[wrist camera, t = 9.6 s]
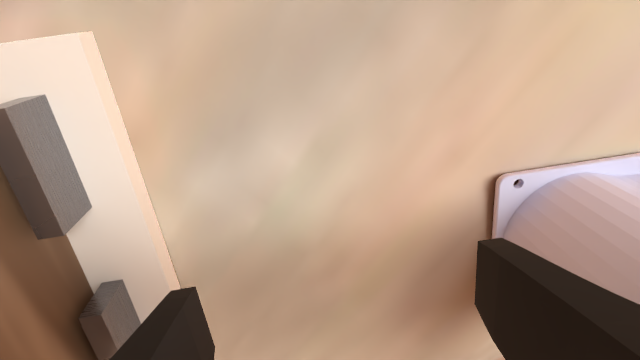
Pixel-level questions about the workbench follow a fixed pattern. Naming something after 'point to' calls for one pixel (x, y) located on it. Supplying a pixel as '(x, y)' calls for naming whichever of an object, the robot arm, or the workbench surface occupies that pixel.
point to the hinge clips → (59, 207)
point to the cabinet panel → (95, 164)
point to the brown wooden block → (39, 290)
